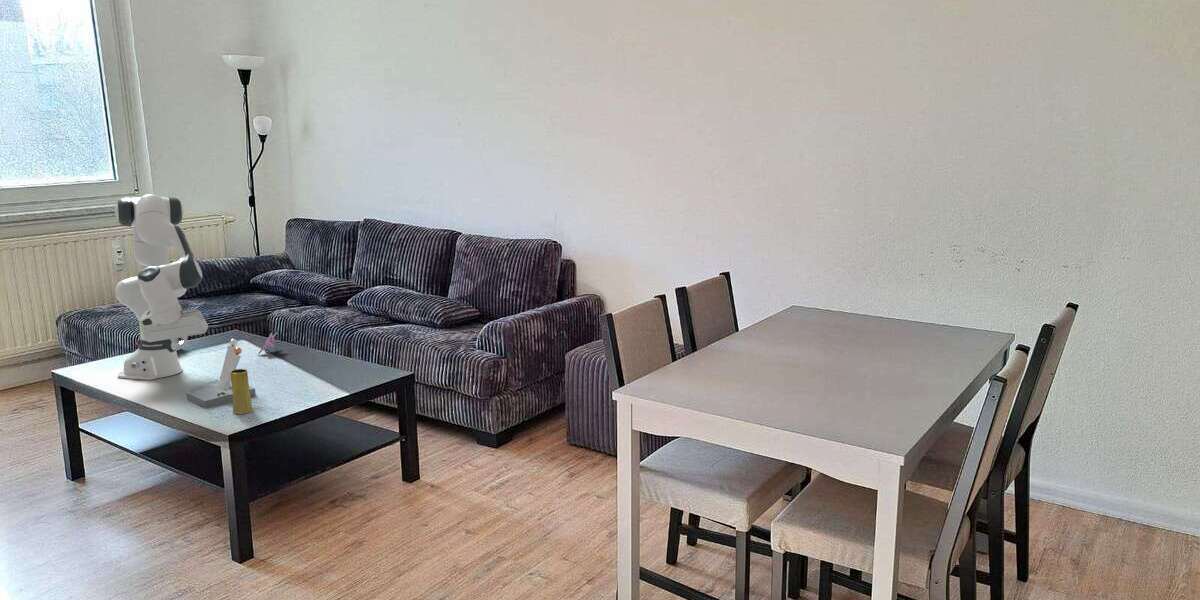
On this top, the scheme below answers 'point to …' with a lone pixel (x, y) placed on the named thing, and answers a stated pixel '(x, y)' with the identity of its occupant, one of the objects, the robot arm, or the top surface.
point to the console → (213, 396)
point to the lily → (269, 343)
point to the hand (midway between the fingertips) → (183, 346)
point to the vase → (240, 391)
